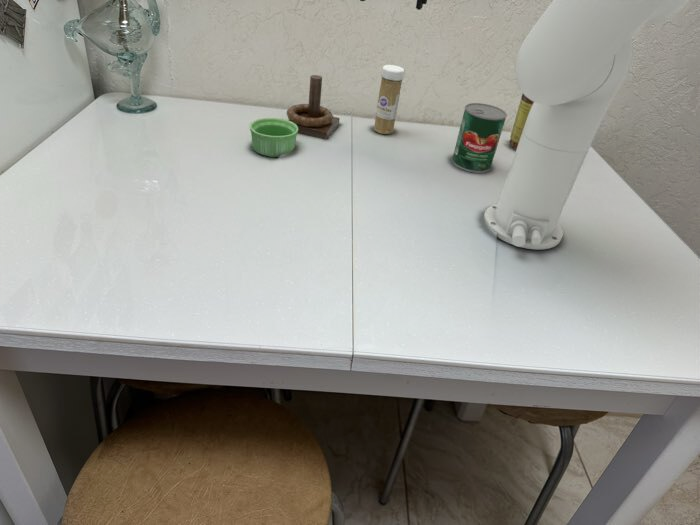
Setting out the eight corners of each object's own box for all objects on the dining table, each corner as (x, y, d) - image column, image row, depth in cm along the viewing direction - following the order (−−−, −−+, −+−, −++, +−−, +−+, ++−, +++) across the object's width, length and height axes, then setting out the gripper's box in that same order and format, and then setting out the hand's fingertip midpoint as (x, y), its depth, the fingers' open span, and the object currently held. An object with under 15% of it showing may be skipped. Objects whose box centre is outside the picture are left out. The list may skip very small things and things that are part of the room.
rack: (326, 139, 100) (330, 87, 94) (285, 129, 102) (286, 78, 95) (339, 124, 107) (344, 75, 101) (300, 116, 109) (303, 67, 103)
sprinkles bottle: (370, 131, 106) (379, 67, 98) (376, 125, 110) (386, 62, 101) (390, 136, 105) (401, 72, 97) (396, 129, 109) (407, 67, 101)
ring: (324, 131, 99) (324, 123, 98) (279, 122, 101) (280, 113, 100) (337, 116, 107) (338, 108, 106) (296, 107, 108) (296, 99, 107)
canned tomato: (477, 154, 103) (492, 102, 96) (498, 172, 97) (515, 118, 90) (444, 156, 100) (457, 102, 94) (463, 174, 94) (478, 118, 88)
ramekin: (261, 135, 98) (261, 113, 96) (303, 145, 97) (305, 123, 94) (241, 152, 91) (241, 129, 89) (286, 162, 90) (287, 140, 87)
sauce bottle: (533, 143, 111) (565, 51, 99) (538, 155, 106) (574, 59, 94) (504, 139, 111) (533, 47, 99) (508, 150, 106) (540, 54, 94)
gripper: (345, -131, 72) (336, -1, 82) (463, -119, 69) (438, 15, 79) (358, -127, 78) (348, -6, 88) (467, -115, 75) (444, 8, 85)
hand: (391, 4), depth 84 cm, fingers open, 9 cm apart
